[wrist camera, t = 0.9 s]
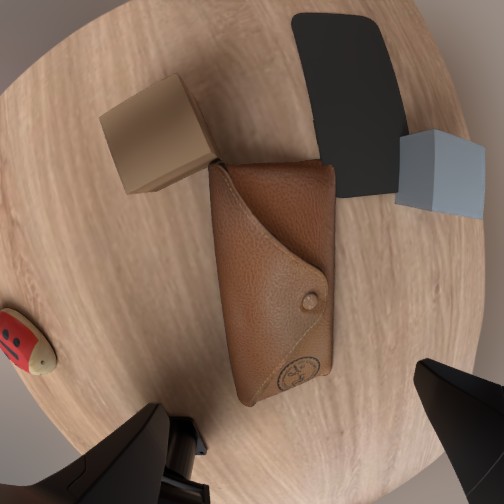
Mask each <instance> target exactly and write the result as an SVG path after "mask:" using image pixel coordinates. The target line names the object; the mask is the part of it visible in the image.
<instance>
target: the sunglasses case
mask: <svg viewBox="0 0 504 504" xmlns="http://www.w3.org/2000/svg"><path fill="white" fill-rule="evenodd" d="M208 171H209V187H210V202H211V215H212V227H213V236H214V245H215V256H216V263H217V272H218V280H219V287H220V295H221V302H222V309H223V317H224V324H225V331H226V338H227V345H228V351H229V356H230V363H231V369H232V372H233V378H234V382H235V386H236V391H237V396H238V398H239V400H240V402H241V403H242V404H243V405H245V406H248V407H252V406H254V404H255V403H256V402H257V401H260V400H263V399H265V398H268V397H270V396H273V395H276V394H278V393H280V392H283V391H286V390H288V389H290V388H293V387H295V386H297V385H300V384H302V383H304V382H306V381H309V380H311V379H313V378H315V377H317V376H324V375H328V374H329V373H330V372H331V368H332V343H333V341H332V335H333V334H332V333H333V305H334V268H335V262H334V261H335V257H334V255H335V200H336V199H335V195H336V189H335V184H336V182H335V178H336V177H335V170H334V167H332V166H331V165H327V166H325V167H324V166H323V165H322V161H321V160H319V159H314V160H306V161H299V162H285V163H258V164H256V163H253V164H240V165H228V164H226V165H225V164H224V163H220V164H218V163H210V164H209V165H208Z"/></svg>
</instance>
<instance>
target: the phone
mask: <svg viewBox="0 0 504 504" xmlns="http://www.w3.org/2000/svg"><path fill="white" fill-rule="evenodd" d="M291 25H292V30H293V33H294V37H295V41H296V44H297V48H298V52H299V56H300V60H301V64H302V68H303V72H304V76H305V81H306V85H307V89H308V94H309V99H310V104H311V108H312V113H313V119H314V120H313V122H314V128H315V133H316V139H317V144H318V146H319V152H320V159H321V161H322V165H323V166H324V167H325V166H327V165H331V166H332V167H334V170H335V177H336V178H335V182H336V184H335V189H336V195H335V197H338V198H350V197H359V196H369V195H378V194H388V193H398V192H399V171H400V137H403V136H407V135H409V131H408V126H407V121H406V116H405V112H404V107H403V103H402V99H401V95H400V91H399V87H398V84H397V80H396V77H395V73H394V70H393V67H392V64H391V60H390V57H389V54H388V51H387V49H386V46H385V43H384V40H383V38H382V35H381V32H380V30H379V28H378V26H377V25H376V23H375V22H374V21H372V20H371V19H369V18H367V17H363V16H356V15H345V14H331V13H300V14H297V15H295V16H294V17H293V18H292V22H291Z"/></svg>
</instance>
